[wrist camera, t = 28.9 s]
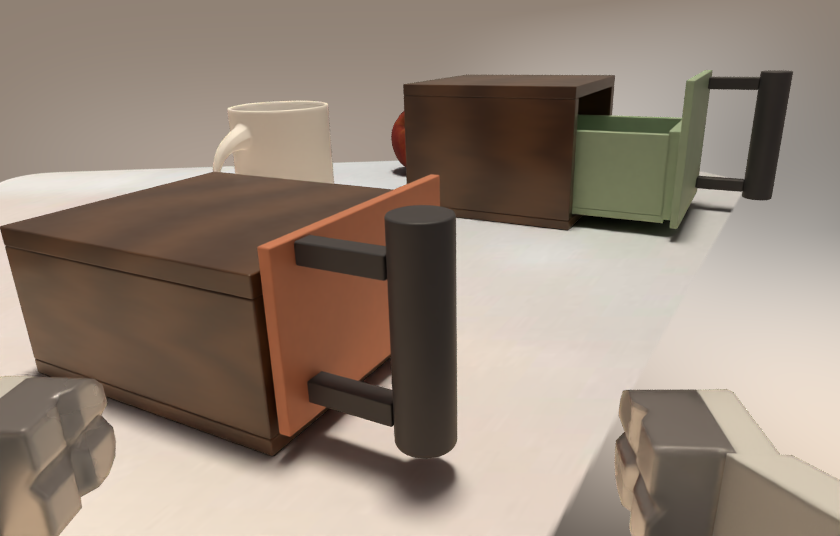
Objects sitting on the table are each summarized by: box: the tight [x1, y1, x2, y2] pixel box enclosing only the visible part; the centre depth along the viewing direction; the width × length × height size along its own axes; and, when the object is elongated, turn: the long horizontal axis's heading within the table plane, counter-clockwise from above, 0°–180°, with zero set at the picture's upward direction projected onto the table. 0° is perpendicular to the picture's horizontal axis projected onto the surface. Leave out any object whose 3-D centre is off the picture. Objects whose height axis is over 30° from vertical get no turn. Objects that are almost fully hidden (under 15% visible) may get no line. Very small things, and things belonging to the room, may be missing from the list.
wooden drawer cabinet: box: [403, 75, 615, 230], centre depth 62 cm, size 16×14×12 cm
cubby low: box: [0, 172, 392, 456], centre depth 34 cm, size 16×14×8 cm
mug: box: [213, 101, 334, 184], centre depth 55 cm, size 9×12×11 cm
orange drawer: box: [257, 174, 457, 459], centre depth 31 cm, size 22×14×9 cm, turn 62°
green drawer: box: [572, 70, 793, 229], centre depth 56 cm, size 22×14×11 cm, turn 62°
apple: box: [391, 112, 406, 167], centre depth 79 cm, size 7×8×8 cm
